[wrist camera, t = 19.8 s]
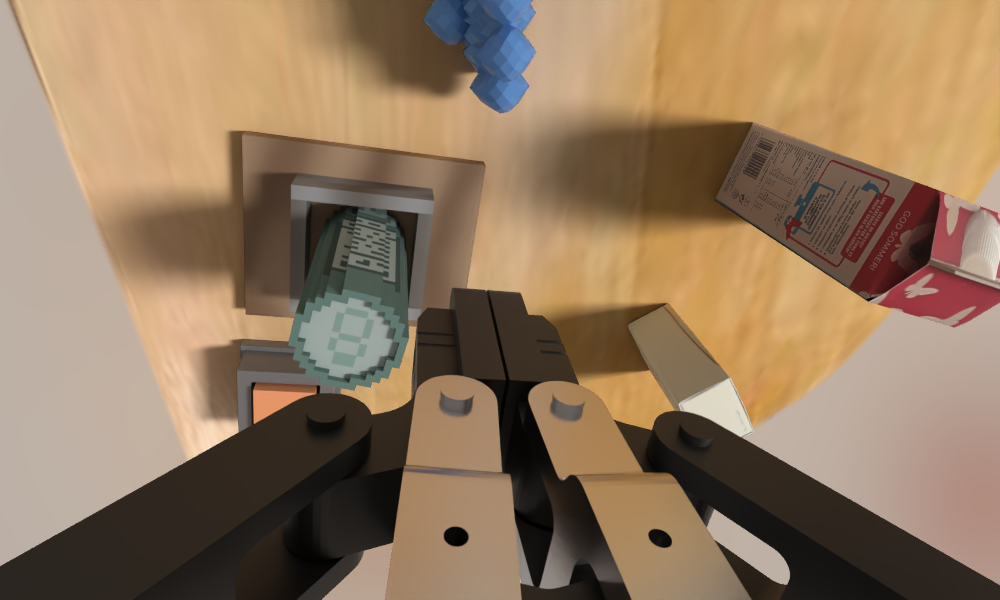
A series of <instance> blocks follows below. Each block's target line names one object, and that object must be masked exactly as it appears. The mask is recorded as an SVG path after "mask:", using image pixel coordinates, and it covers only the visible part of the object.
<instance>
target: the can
mask: <svg viewBox="0 0 1000 600" xmlns="http://www.w3.org/2000/svg"><path fill="white" fill-rule="evenodd" d="M408 339H409V327H408V288H407V249H406V239H404V229H403V228H400V222H397V221H396V216H394V215H391V214H387V210H386V209H377V208H368V207H359V206H350V205H347V208H346V207H342V206H341V208H340V211H337V210H334V212H333V216H332V219H327V218H326V221H325V224H324V227H323V230H322V233H321V236H320V239H319V242H318V245H317V248H316V251H315V255H314V258H313V261H312V264H311V267H310V270H309V273H308V276H307V279H306V282H305V285H304V288H303V291H302V294H301V297H300V301H299V304H298V307H297V310H296V313H295V317H294V321H293V326H292V330H291V334H290V338H289V343H288V346H292V347H296V348H295V352H294V356H293V360H297V361H300V365H299V367H300V368H305V369H306V372H305V375H308V376H313V377H319V383H318V384H323V385H328V386H333V387H338V388H344V389H349V390H354V391H355V388H356V385H360V386H365V387H370V388H371V385H372V382H376V383H380V380H381V377H382V378H387V379H388V378H389V375H390V372H391V369H392V367H394V368H399V367H400V364H401V361H402V358H403V355H404V352H405V349H406V345H407V342H408Z"/></svg>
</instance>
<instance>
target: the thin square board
mask: <svg viewBox="0 0 1000 600" xmlns="http://www.w3.org/2000/svg"><path fill="white" fill-rule="evenodd" d="M242 159H243V208H244V256H245V304H246V314H247V315H261V316H275V317H289V318H294V317H295V313H296V310H297V307H298V304H299V301H300V297H301V294H302V291H303V288H304V285H305V282H306V279H307V276H308V273H309V270H310V267H311V264H312V261H313V258H314V255H315V251H316V248H317V245H318V242H319V239H320V236H321V233H322V230H323V227H324V224H325V221H326V218H327V219H332V216H333V212H334V210H337V211H340V208H341V206H342V207H346V208H347V205H350V206H359V207H368V208H377V209H386V210H387V214H391V215H394V216H396V221H397V222H400V228H403V229H404V239H406V249H407V288H408V326H415V327H417V319H418V317H419V316H420V315H421V314H422V313H423V312H424V311H425V310H426V308H427V307H428V308H442V309H449V304H450V296H451V291H452V288H466V289H467V283H468V276H469V270H470V263H471V257H472V250H473V244H474V238H475V231H476V225H477V218H478V212H479V205H480V199H481V192H482V186H483V180H484V173H485V167H486V166H485V164H484V162H480V161H473V160H465V159H457V158H449V157H442V156H434V155H426V154H419V153H411V152H403V151H396V150H388V149H380V148H373V147H365V146H357V145H349V144H342V143H334V142H326V141H319V140H311V139H303V138H296V137H288V136H280V135H273V134H265V133H257V132H249V131H245V132H244V133H243V134H242Z"/></svg>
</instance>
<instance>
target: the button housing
mask: <svg viewBox="0 0 1000 600" xmlns="http://www.w3.org/2000/svg"><path fill="white" fill-rule="evenodd" d="M288 343H289V342H280V341H265V340H249V339H243V341H242V343H241V345H240V351H241V362H240V364H239V367H238V369H237V392H238V426H239V432H240V431H242V430H244V429H246V428H247V427H249V426H251V425H253V424H254V405H253V390H254V387H255V384H256V382H261V383H281V384H301V385H319V394H321V393H336V394H341V388H338V387H333V386H328V385H323V384H318V383H319V377H313V376H308V375H305V372H306V369H305V368H300V367H299V365H300V361H297V360H293V356H294V352H295V348H296V347H292V346H288Z"/></svg>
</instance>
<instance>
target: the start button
mask: <svg viewBox="0 0 1000 600" xmlns="http://www.w3.org/2000/svg"><path fill="white" fill-rule="evenodd" d="M314 394H319V385H301V384H281V383H261V382H256V384H255V387H254V390H253V405H254V424H255V423H256V422H258V421H260V420H262V419H264V418H265V417H267V416H269V415H271V414H272V413H274V412H276V411H278V410H280V409H281V408H283V407H285V406H287V405H288V404H290V403H292V402H294V401H296V400H298V399H300V398H303V397H306V396H309V395H314Z"/></svg>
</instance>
